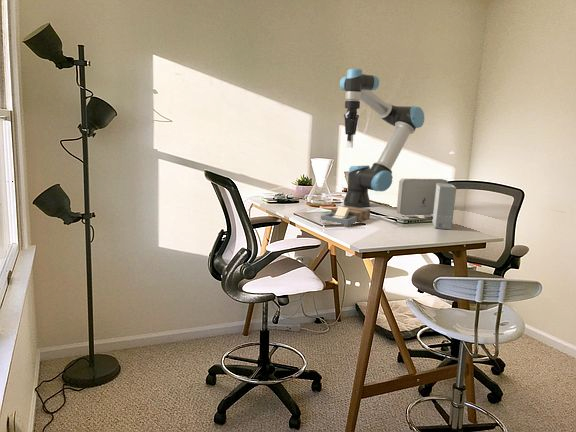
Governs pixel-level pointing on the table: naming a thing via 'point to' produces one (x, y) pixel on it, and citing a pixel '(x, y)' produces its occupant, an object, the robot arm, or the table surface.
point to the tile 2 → (342, 212)
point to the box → (339, 219)
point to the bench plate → (356, 213)
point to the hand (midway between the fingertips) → (349, 147)
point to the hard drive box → (444, 206)
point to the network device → (417, 196)
